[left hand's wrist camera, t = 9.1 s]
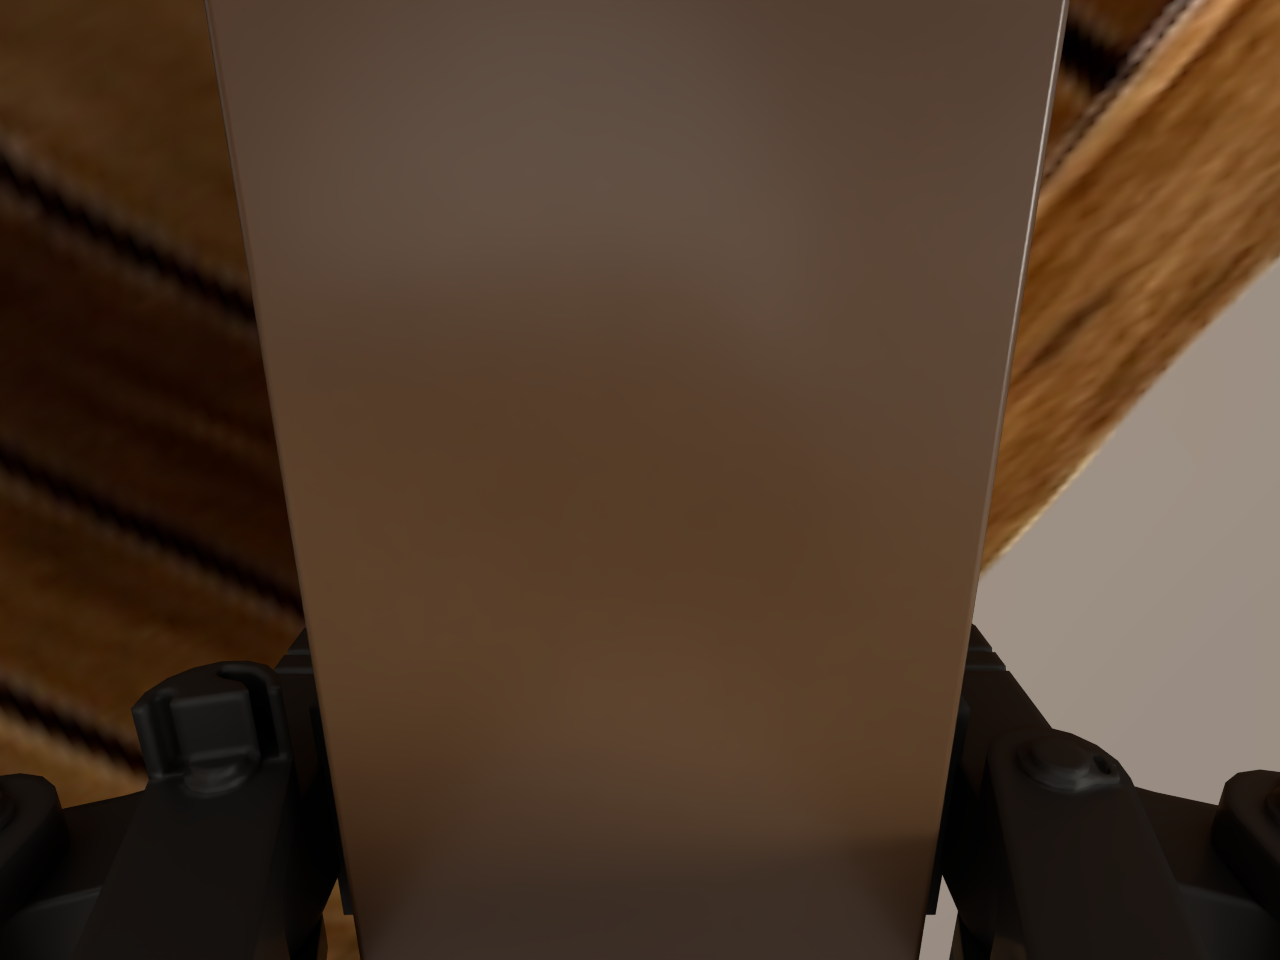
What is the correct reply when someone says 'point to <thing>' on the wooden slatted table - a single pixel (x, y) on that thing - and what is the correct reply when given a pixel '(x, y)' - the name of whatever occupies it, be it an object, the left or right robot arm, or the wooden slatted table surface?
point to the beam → (638, 445)
